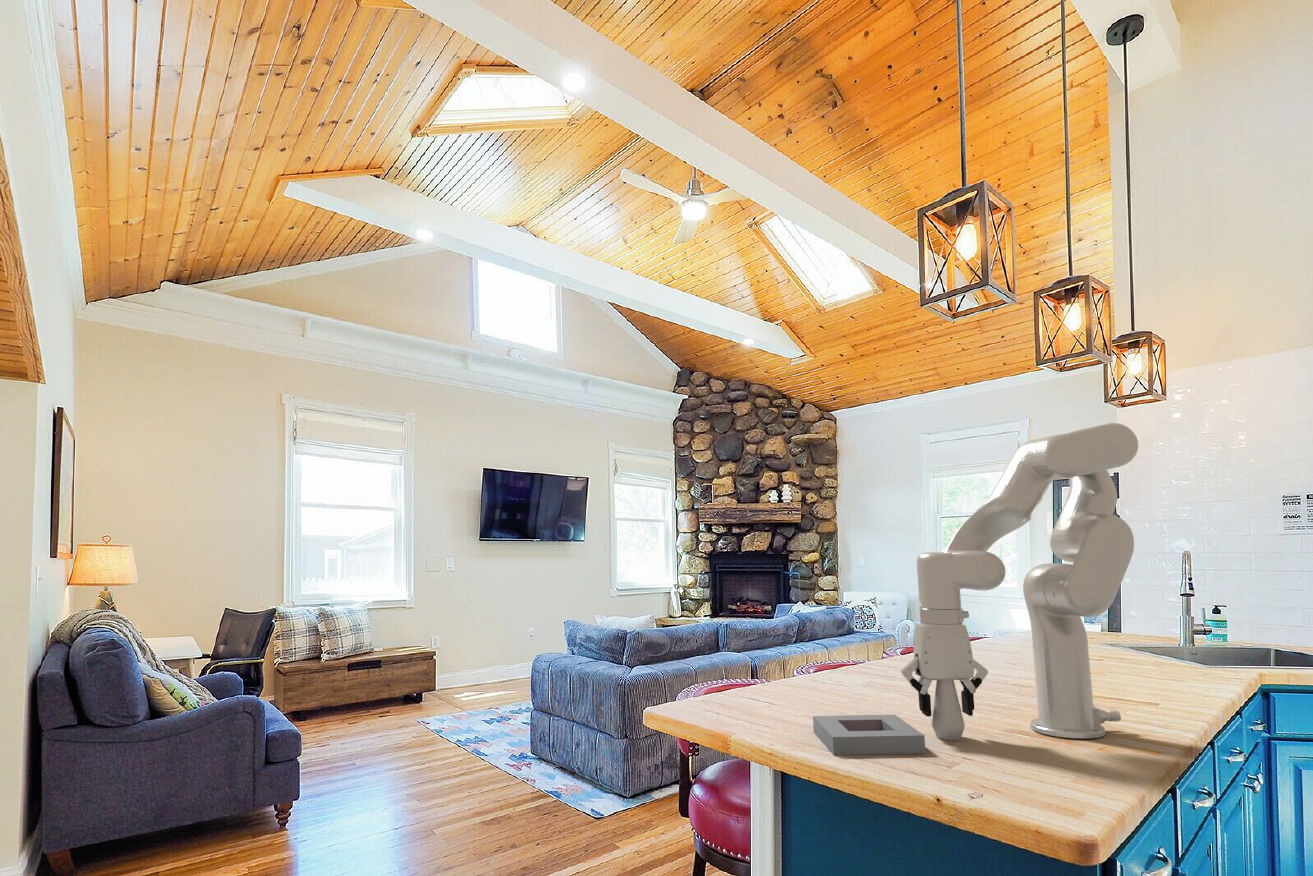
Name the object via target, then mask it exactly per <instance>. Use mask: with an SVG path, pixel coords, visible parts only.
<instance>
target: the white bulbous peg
mask: <svg viewBox="0 0 1313 876" xmlns="http://www.w3.org/2000/svg"><path fill="white" fill-rule="evenodd" d="M951 678H952V677H951ZM935 683H936V684H935V690H934V691H935V693H934V700H933V708H932V712H931V723H930V725H931V727H932V729H933V731H934V733H935V736H936V738H937V739H939V740H942V741H943V740H944V741H954V742H955V741H959V740H961V739H962V736H963V733H964V732H965V721H964V717H963V711H962V707H961V705H960V701H959V696H958V692H957V689H956V688H957V687H956V684H955V680H954V679H948V678H947V679H944V680H936V682H935Z"/></svg>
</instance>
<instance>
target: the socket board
mask: <svg viewBox="0 0 1313 876" xmlns="http://www.w3.org/2000/svg"><path fill="white" fill-rule="evenodd" d="M812 721H813V723H812V724H813V725H812V727H813V729H812V730H813V733H814V734H815V735H816V737H817V738H818V739H819V740H820V742H821V743H822V744H823V745H824V746H825V747H826V748H827V749H828V750H829V752H830V753H831V754H832V755H833V756H855V755H856V756H857V755H858V756H860V755H904V754H905V755H908V754H909V755H912V754H913V755H914V754H915V755H917V754H919V755H920V754H926V739H925V737H926V736H925V735H924V734H923V733H922V732H921V731H919V730H918V729H916V728H914V727H913V726H912V725H911V724H909V723H908V722H906V721H905V720H903V719H902V718H901V717H899V716H898V715H896V714H859V715H858V714H855V715H854V714H853V715H847V714H846V715H812Z"/></svg>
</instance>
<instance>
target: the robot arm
mask: <svg viewBox="0 0 1313 876" xmlns="http://www.w3.org/2000/svg"><path fill="white" fill-rule="evenodd" d="M1138 450H1139V440H1138V438H1137V435H1136V433H1134V431H1133V430H1132V429H1130V428H1129V427H1128V426H1127V425H1125V424H1123V423H1118V422H1110V423H1104V424H1101V425H1100V424H1099V425H1095V426H1090V427H1085V428H1080V429H1077V430H1074V431H1071V432H1065V433H1060V434H1055V435H1050V436H1046V437H1045V436H1044V437H1041V438H1037V439H1032V440H1029V441H1026V442H1023V444H1021V445H1020V446H1018V448H1017V449H1016V450H1015V452H1014V453H1013V455H1012V457H1011V459H1010V460H1009V462H1008V464H1007V466H1006V467H1005V470H1004V471H1003V473H1002V475H1001V476H1000V478H999V480H998V482H997V484H996V485H995V487H994V488H993V490H992V491H991V493H990V495H989V497H988V498H987V499H986V500H985V501H984V502H983V503H982V504H981V505H980V506H979V507H978V508H977V509H976V510H975V511H974V512H973V513H972V514H971V515H970V516H969V517H968V518H967V519H966V520H965V521H964V522H963V523H962V525H961V524H960V527H959V528H958V529H957V530H956V532H955V533H954V535H953V536H952V538H951V539H950V541H949V543H948V545H947V546H946V548H945V549H944V551H943V552H941V551H936V552H933V551H931V552H923V553H920V554H918V555H917V558H916V572H917V589H918V602H919V603H918V606H919V607H918V608H919V620H920V622H919V624H915V629H914V637H913V659H912V660H911V661H910V662H909V663H907V665H905V666H904V667H903V668H902V670H901V669H900V670H901V671H900V674H901V675H902V676H903V677H904V679H905V680H906V681H907V682H908V683H909V684H910V685H911V687H912V688H913V689H915V690H916V691H917V692H918V693H917V694H918V707H919V710H920V711H921V713H922V715H924V716H925V717H932V702H931V700H932V699H931V694H929V693H928V692H929V688H930V686H931V684H932V681H937V680H944V679H947V678H948V679H954V681H958V682H959V683H960V684H961V687H962V689H963V690H961V692H960V697H961V712H962V713H963V714H966V715H967V716H969V717H971V716H972V717H973V715H974V713H973V712H974V710H975V696H974V694H975V693H976V692H977V689H978V688H979V687H980V685H981V684H982V682H983V680H985V678H986V677H987V676H988V674H989V670H988V669H987V668H985V667H984V666H983V665H982V664H980V663H979V662H978V661H977V660H975V659H974V656H973V649H972V646H971V645H972V644H971V640H970V635H969V632H968V629H967V626H966V624H963V623H964V620H965V619H969V618H970V613H969V611H967V610H963V608H962V601H961V600H962V599H961V598H962V597H961V590H963V589H964V590H965V589H967V590H973V591H984V592H985V591H990V590H993V589H995V588H997V587H999V586H1000V585H1002V583H1003V581H1004V580H1005V577H1006V567H1005V564H1004V562H1003V560H1002V559H1001V558H999V557H998V556H997V555H996V554H994V553H992V552H990V551H989V549H990V548H991V547H992V546H993V545H994V544H996V543H997V542H998V541H999V540H1000V539H1001V538H1003V537H1005V536H1007V535H1008V534H1010V533H1012V532H1014V531H1016V530H1018V529H1020V528H1021V527H1023V526H1025V525H1026V524H1027V523H1029V522H1030V520H1032V519H1033V516H1034V514H1035V513H1036V511H1037V509H1038V507H1039V506H1040V503H1041V502H1042V500H1043V498H1044V496H1045V495H1046V493H1047V491H1048V490H1049V488H1050V487H1051V484H1052V483H1053V482H1054V481H1057V480H1065V479H1068V481H1069V483H1068V484H1069V491H1068V494H1067V498H1066V500H1065V502H1064V505H1063V508H1062V510H1061V512H1060V514H1059V516H1058V518H1057V521H1056V523H1055V525H1054V528H1053V530H1052V533H1051V535H1050V540H1049V541H1050V542H1049V545H1050V549H1051V552H1052V553H1053V554H1054V555H1055V556H1056V557H1057V558H1058V559H1060V560H1062V561H1064V562H1067V563H1056V562H1055V563H1054V562H1051V563H1050V562H1049V563H1043V564H1042V563H1041V564H1038V565H1036V566H1034V567H1032V568H1031V569H1030V570H1028V572H1027V574H1026V575H1025V577H1024V580H1023V584H1022V590H1023V591H1022V592H1023V596H1024V602H1025V604H1026V608H1027V609H1026V610H1027V613H1028V616H1029V621H1030V627H1031V628H1030V629H1031V640H1032V651H1033V652H1032V653H1033V654H1032V655H1033V664H1034V666H1033V667H1034V676H1035V688H1036V689H1035V690H1036V703H1037V712H1038V715H1037V716H1038V717H1037V718H1034V719H1032V720H1030V723H1029V724H1030V728H1031V729H1032V730H1033V731H1034V732H1037V733H1039V734H1043V735H1046V736H1051V737H1057V738H1066V739H1083V740H1084V739H1097V738H1102V737H1103V736H1105V735H1106V728H1105V726H1103V725H1102V724H1104V723H1105V722H1109V723H1110V722H1121V719H1122V716H1121V713H1120V711H1118V710H1107V711H1105V709H1100V708H1098V707H1096V706H1094V698H1093V697H1094V696H1093V688H1092V687H1093V686H1092V677H1091V666H1090V665H1091V664H1090V654H1089V643H1088V642H1089V640H1088V634H1087V631H1086V627H1085V625H1084V622H1083V620H1082V618H1081V617H1083V618H1084V617H1085V618H1094V617H1098V616H1100V615H1103V614H1104V613H1105V612H1107V610H1109V608H1110V607H1111V605H1112V604H1113V602H1114V600H1115V598H1116V596H1117V594H1118V591H1119V590H1120V586H1121V584H1122V582H1123V579H1124V577H1125V575H1126V573H1127V570H1128V567H1129V565H1130V562H1131V561H1132V560H1131V559H1132V557H1133V554H1134V549H1135V539H1134V533H1133V531H1132V528H1131V527H1130V526H1129V524H1128V523H1127V522H1126V520H1124V519H1123V518H1121V517H1119V516H1117V515H1115V514H1114V512H1115V509H1116V507H1117V502H1118V493H1117V489H1116V486H1115V483H1114V481H1113V479H1112V477H1111V475H1110V473H1109V471H1108V470H1111V469H1115V468H1119V467H1122V466H1125V465H1127V464H1129V463H1130V462H1131V461H1132V460H1133V459H1134V458H1135V457H1136V455H1137V453H1138ZM1068 562H1069V563H1072V564H1069V563H1068ZM975 671H976V673H975ZM913 673H914V674H915V675H917V676H918V677H919V680H918V679H916V678H915V677H914V675H913ZM974 674H975V675H974ZM951 677H952V678H951Z"/></svg>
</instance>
